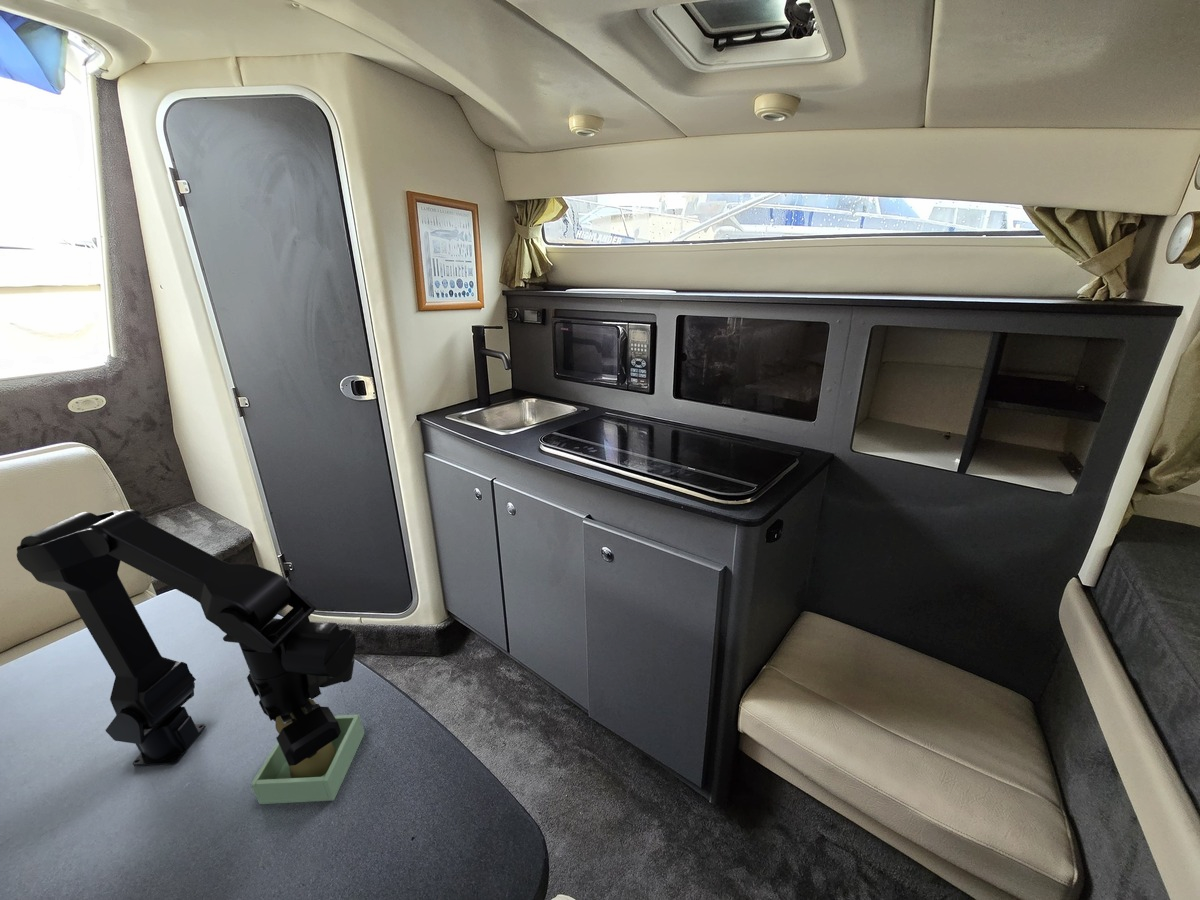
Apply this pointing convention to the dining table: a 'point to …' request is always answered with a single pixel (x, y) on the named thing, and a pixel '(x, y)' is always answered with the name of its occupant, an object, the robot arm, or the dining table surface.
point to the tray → (281, 788)
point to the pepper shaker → (316, 763)
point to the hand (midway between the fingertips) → (307, 745)
